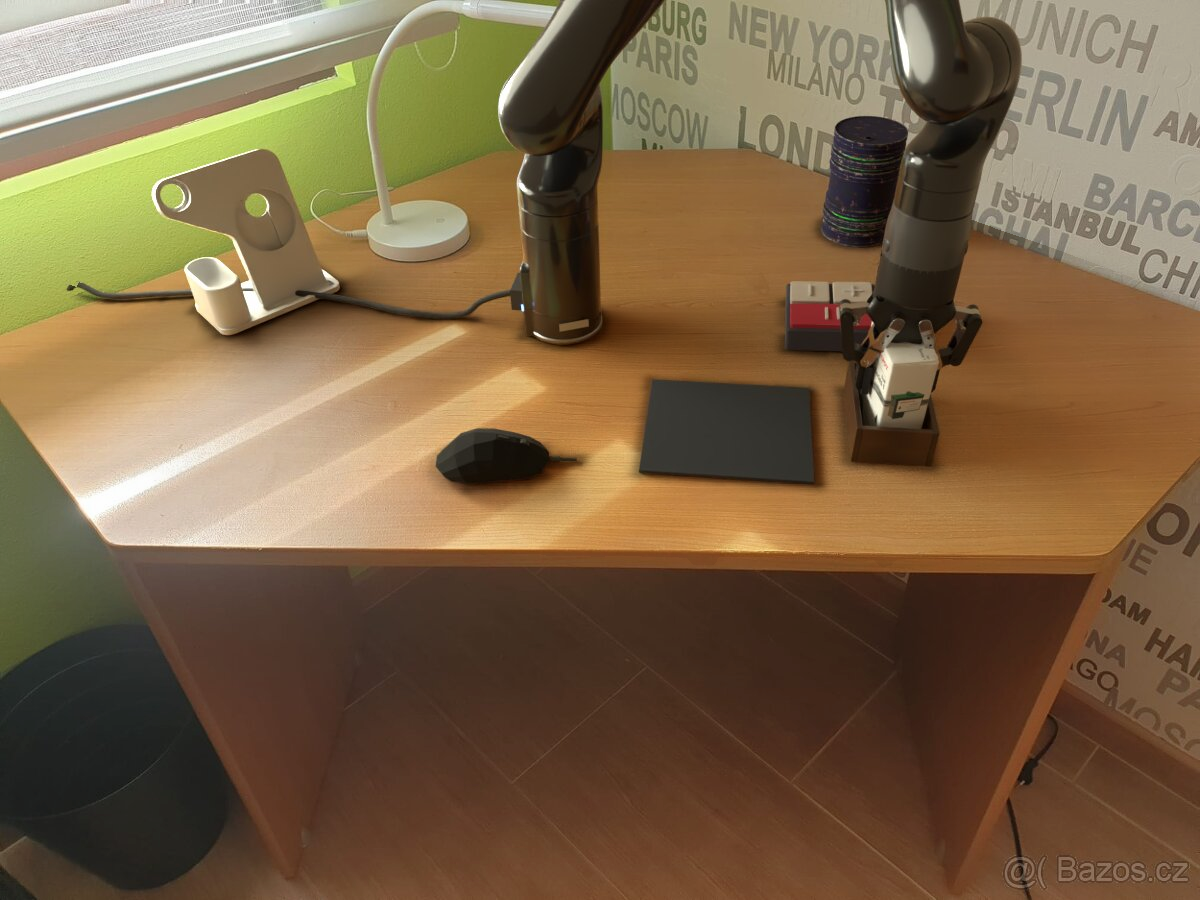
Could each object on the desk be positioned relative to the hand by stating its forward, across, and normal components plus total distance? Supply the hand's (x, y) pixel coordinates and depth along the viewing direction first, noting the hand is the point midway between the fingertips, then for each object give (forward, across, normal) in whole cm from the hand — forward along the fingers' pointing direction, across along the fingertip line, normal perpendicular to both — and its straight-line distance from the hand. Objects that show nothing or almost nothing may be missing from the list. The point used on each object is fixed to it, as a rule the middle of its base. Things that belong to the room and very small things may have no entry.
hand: (892, 390), depth 101 cm
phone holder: (+5, +79, -20) cm, 82 cm away
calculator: (+5, +3, -19) cm, 20 cm away
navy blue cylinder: (+5, 0, -45) cm, 45 cm away
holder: (+5, 0, 0) cm, 5 cm away
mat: (+5, +17, +2) cm, 18 cm away
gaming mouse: (+5, +40, +10) cm, 42 cm away
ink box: (+5, 0, 0) cm, 5 cm away
